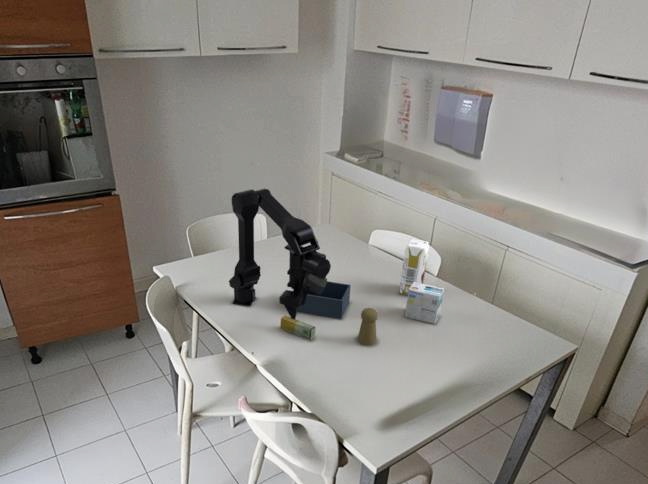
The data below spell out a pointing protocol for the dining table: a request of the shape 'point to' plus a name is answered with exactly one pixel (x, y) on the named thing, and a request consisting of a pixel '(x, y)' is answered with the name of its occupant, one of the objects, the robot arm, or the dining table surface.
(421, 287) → the light bulb box
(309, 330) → the medication box
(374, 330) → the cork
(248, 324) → the dining table surface
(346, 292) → the dark blue open bin
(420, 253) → the juice carton
